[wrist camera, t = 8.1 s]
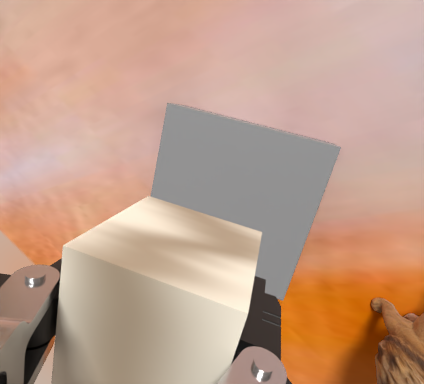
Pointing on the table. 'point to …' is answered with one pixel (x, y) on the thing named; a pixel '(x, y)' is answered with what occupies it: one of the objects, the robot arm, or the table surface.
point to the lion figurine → (400, 346)
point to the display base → (246, 181)
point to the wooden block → (153, 297)
